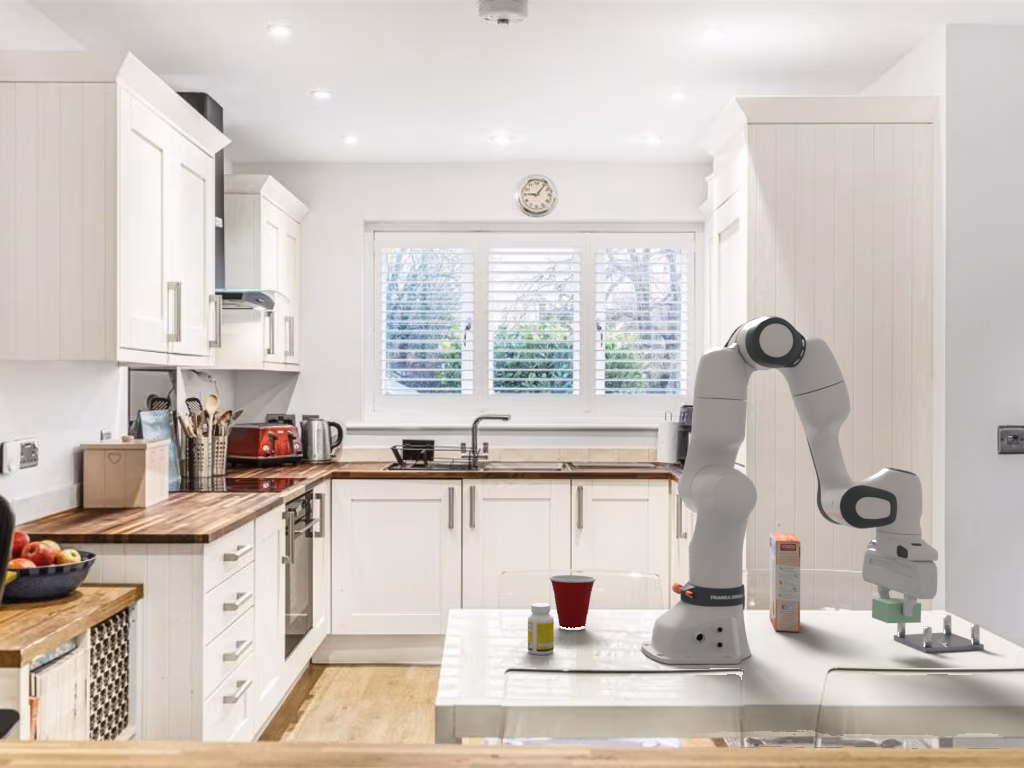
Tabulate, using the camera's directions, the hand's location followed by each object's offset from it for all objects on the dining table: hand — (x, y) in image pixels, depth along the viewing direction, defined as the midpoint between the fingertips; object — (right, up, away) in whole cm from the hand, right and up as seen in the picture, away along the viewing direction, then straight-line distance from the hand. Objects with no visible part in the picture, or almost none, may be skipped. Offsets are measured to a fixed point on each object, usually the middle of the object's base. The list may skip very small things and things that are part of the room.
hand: (896, 612), depth 184 cm
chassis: (+12, -9, +6) cm, 16 cm away
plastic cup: (-67, -9, +19) cm, 70 cm away
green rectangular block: (0, -2, 0) cm, 2 cm away
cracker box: (-16, -9, +23) cm, 30 cm away
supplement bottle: (-75, -8, -1) cm, 75 cm away
